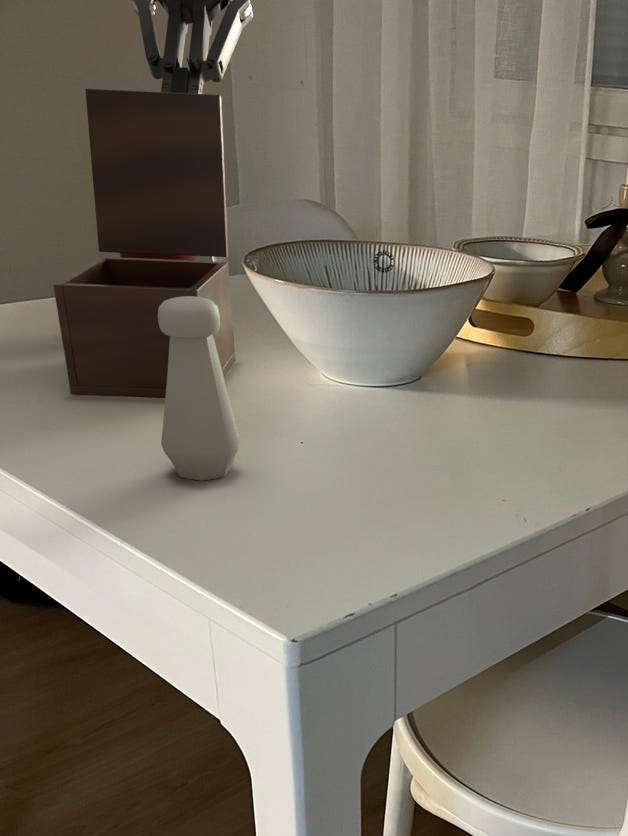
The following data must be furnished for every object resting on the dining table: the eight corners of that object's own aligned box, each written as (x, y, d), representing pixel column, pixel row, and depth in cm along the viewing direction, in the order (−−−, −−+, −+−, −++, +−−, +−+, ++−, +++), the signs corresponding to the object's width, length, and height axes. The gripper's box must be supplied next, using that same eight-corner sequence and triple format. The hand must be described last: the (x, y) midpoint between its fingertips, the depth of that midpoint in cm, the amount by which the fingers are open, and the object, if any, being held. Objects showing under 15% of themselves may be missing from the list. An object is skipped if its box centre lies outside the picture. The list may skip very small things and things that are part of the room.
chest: (207, 399, 96) (196, 290, 91) (70, 394, 95) (52, 284, 90) (235, 360, 107) (227, 262, 102) (114, 355, 107) (100, 256, 102)
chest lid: (219, 94, 97) (221, 95, 98) (85, 88, 96) (87, 89, 97) (226, 257, 102) (228, 257, 103) (98, 251, 101) (101, 251, 102)
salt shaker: (148, 473, 79) (127, 299, 73) (202, 452, 83) (186, 287, 77) (204, 490, 77) (187, 312, 70) (257, 468, 81) (245, 298, 74)
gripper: (127, -89, 108) (101, 98, 101) (252, -82, 108) (234, 105, 102) (147, -25, 115) (124, 153, 109) (264, -19, 115) (247, 158, 109)
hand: (177, 129), depth 105 cm, fingers closed
